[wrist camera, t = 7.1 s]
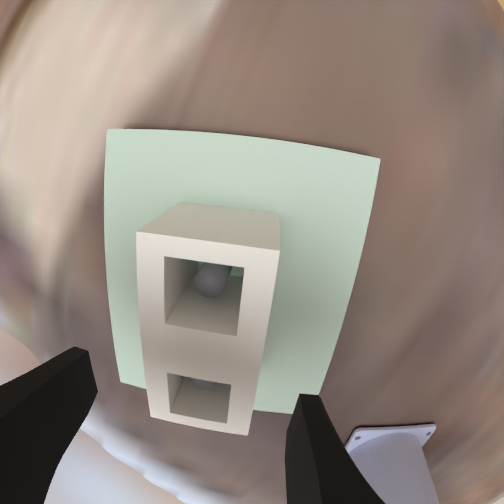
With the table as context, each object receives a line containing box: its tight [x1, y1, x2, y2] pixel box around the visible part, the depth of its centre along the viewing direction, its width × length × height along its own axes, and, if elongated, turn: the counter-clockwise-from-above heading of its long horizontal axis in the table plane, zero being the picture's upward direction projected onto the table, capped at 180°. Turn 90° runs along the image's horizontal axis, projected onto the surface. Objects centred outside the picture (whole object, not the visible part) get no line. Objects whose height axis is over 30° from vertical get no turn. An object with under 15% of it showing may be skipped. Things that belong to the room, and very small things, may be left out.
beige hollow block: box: [136, 202, 280, 435], centre depth 13 cm, size 9×5×5 cm, turn 174°
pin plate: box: [104, 129, 380, 414], centre depth 15 cm, size 16×13×5 cm
